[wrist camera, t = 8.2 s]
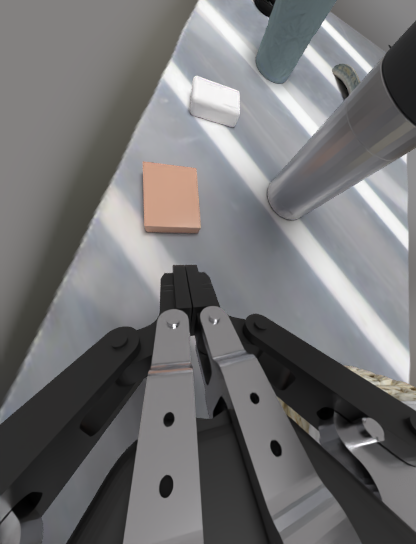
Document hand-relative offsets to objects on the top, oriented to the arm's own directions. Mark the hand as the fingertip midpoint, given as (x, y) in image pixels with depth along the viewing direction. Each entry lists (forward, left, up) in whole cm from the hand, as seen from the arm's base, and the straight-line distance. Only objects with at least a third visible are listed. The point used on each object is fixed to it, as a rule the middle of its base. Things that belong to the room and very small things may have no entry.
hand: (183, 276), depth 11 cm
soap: (-32, -15, -14) cm, 38 cm away
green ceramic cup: (-53, -13, -14) cm, 57 cm away
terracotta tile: (-7, -6, -13) cm, 16 cm away
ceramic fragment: (-67, +3, -15) cm, 69 cm away
